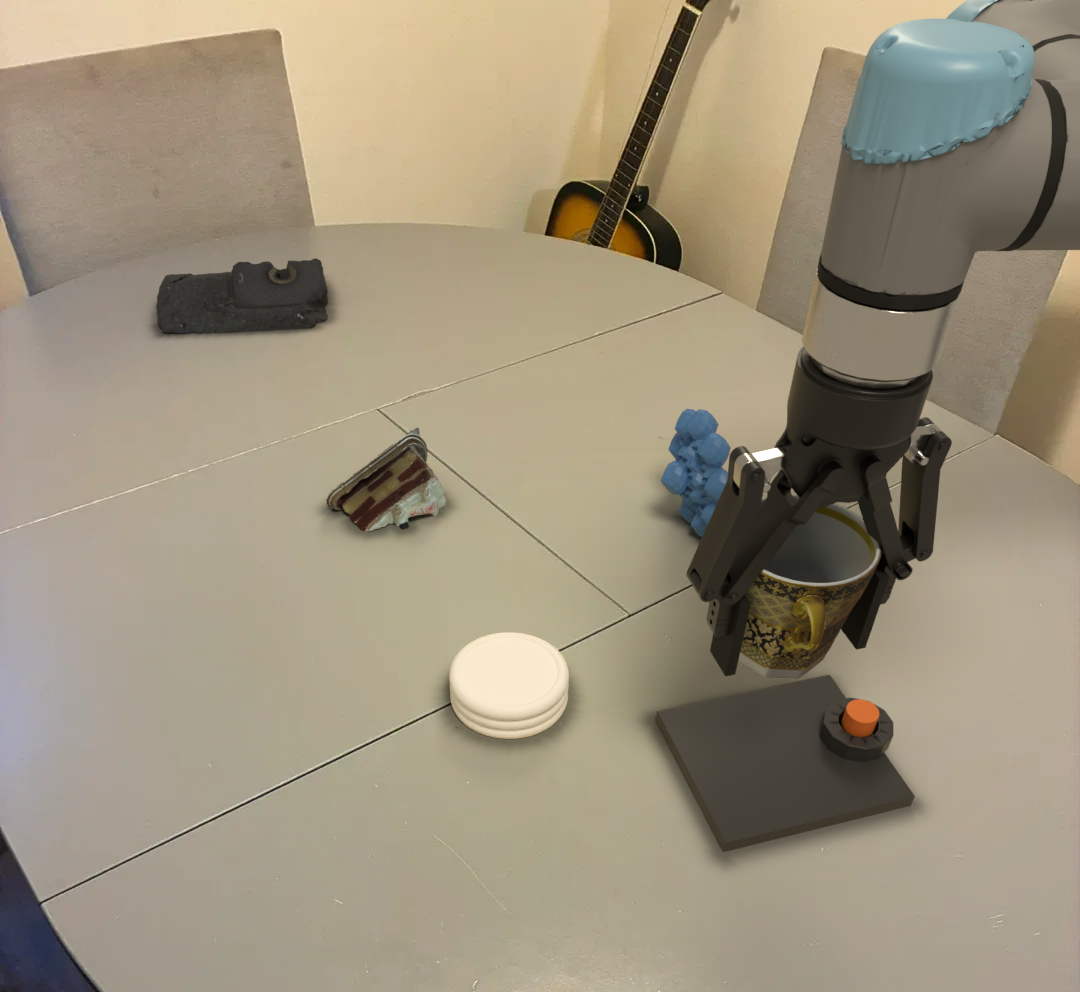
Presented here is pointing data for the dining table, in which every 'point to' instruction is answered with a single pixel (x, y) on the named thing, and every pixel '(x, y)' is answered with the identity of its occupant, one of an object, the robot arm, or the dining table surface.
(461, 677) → the coaster
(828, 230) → the robot arm
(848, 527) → the ceramic cup
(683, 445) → the grapes
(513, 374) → the dining table surface
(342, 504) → the chocolate cake
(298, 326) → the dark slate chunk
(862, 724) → the button
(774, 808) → the dark grey flat slab
